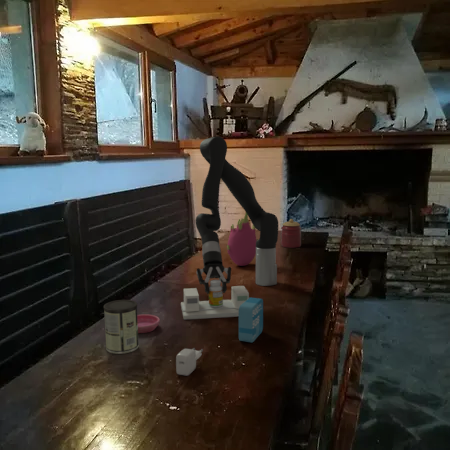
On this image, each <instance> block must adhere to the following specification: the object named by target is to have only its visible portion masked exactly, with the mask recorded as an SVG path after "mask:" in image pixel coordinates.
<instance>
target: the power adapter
mask: <svg viewBox="0 0 450 450" xmlns="http://www.w3.org/2000/svg"><path fill="white" fill-rule="evenodd" d="M203 351H204V349H203V348H201V349H199V350H196V347H193V348H183V349H182V350H181V351H179V352H178V353H177V354H176V357H175V367H176V369H175V370H176V371H175V372H176V374H177V375H180V376H187V377H188V376H190V375H191V374H192V373H193V371H195V370H196V368H197V360H198V359H200V358H201V357H202V352H203Z"/></svg>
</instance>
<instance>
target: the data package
mask: <svg viewBox="0 0 450 450" xmlns="http://www.w3.org/2000/svg"><path fill="white" fill-rule="evenodd" d="M263 329H264V300H263V298H259V297H250V296H249V299H247V300H246V301H245V302H244V303H243V304H241V305H240V307H239V316H238V339H239V341H240V342H246V343H251V344H252V343H253V342H255V341H256V340H257V339H258V337H259V336H260V335H261V334H262V332H263Z"/></svg>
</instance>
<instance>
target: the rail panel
mask: <svg viewBox="0 0 450 450" xmlns="http://www.w3.org/2000/svg"><path fill="white" fill-rule="evenodd" d="M230 293H231V297H230V298H231V299H223V305H222V306H221V307H211V306H209V300H200V295H199V292H198V289H197V287H191V288H183V301H181V302H180V307H181V308H180V310H181V314H182V317H183V318H182V319H183V320H185V321H186V320H200V319H201V320H202V319H215V318H219V319H220V318H234V317H239V307H240V305H241V304H243V303H244V302H245V301H246V300H247V299H249V298H250V293H249V290H248V289H247V288H246V287H245V285H235V286H233V285H232V286H231V292H230Z"/></svg>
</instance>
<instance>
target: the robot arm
mask: <svg viewBox="0 0 450 450" xmlns="http://www.w3.org/2000/svg"><path fill="white" fill-rule="evenodd" d="M199 151H200V154H201V156H202V157H203V159H204V160H205V161H206V162H207V163H208V164H209V168H208V172H207V175H206V178H205V180H204V182H203V186H202V187H203V188H202V193H201V206H202V207H203V208H205V209H208V210H210V212H211V213H199V214H198V215H197V216H196V217H195V226H196V229H197V232H198V234H199V236H200V239H201V245H202V247H201V248H202V249H201V251H202V256H201V257H202V261H203V262H202V264H203V267H202V268H199V267H198V268H196V272H195V273H196V276H197V279H198V282H199V285H203V286H204V292H205V293H206V294H207V295H209V287H210V286H209V285H210V284H209V283H210V279H211V280H212V279H218V280H220V281H221V286H222V288H223V294H226V292H227V290H228V288H227V287H228V286H227V284H230V282H231V276H232V267H231V266H228V267H225V266H224V265H223V257H222V249H221V246H220V245H221V244H220V240H219V239H220V238H219V234H218V233H217V231H219V230H220V228H221V226H222V222H221V215H220V210H219V196H220V187H221V186H220V185H221V181H222V182H223V183H224V185H225V186H226V188H228V191H229V192H230V194H231V195H232V196H233V197H234V199H235V200H236V201H237V202H238V204H239V205H240V206H241V208H242V209H243V210H244V212H245V214H246V213H247V215H248V218H249V221H250V222H251V224H252V226H253V225H254V227H255V228H256V230H257V231H259V239H258V240H257V241H256V254H255V284H256V285H257V286H263V287H264V286H265V287H266V286H267V287H269V286H271V287H272V286H274V285H277V284H278V277H277V276H278V264H277V263H276V261H277V260H276V258H277V257H276V256H277V242H278V239H279V219H278V217H277V216H276V214H274V213H272V212H267V211H265V210H264V208H263V207H262V206H261V205H260V204H259V202H258V200H257V198H256V194H255V190H254V188H253V186H252V183H251V182H250V181H249V180H248V178H247V176H245V174H244V173H243V172H241V171H240V170H239V169H237V168H236V167H235V166H234V165H232V164H231V163H230V162H229V161H228V160H227V159H226V156H227V152H228V144H227V142H226V140H225V138H223V137H222V136H212V137H209V138H205V139H203V140H202V141H201V142H200V145H199ZM224 272H225V274H226V278H225V276H224V274H223V273H224ZM203 273H204V274H205V276H206V277H205V279H203Z"/></svg>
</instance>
